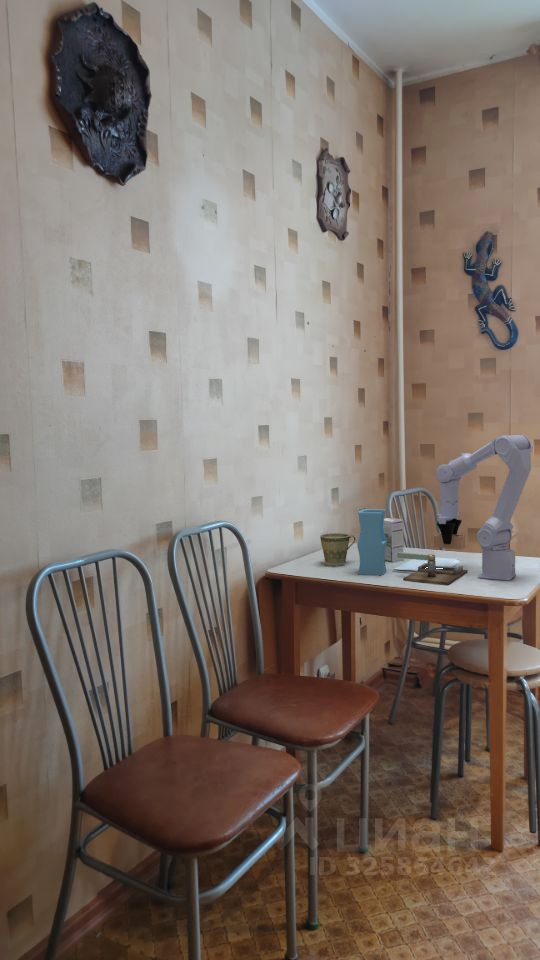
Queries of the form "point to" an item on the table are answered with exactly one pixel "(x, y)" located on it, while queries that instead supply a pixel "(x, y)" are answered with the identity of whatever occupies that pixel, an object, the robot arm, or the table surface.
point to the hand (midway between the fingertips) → (449, 542)
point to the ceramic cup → (335, 548)
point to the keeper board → (436, 574)
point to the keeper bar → (416, 556)
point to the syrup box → (393, 538)
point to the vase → (372, 542)
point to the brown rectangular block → (456, 542)
